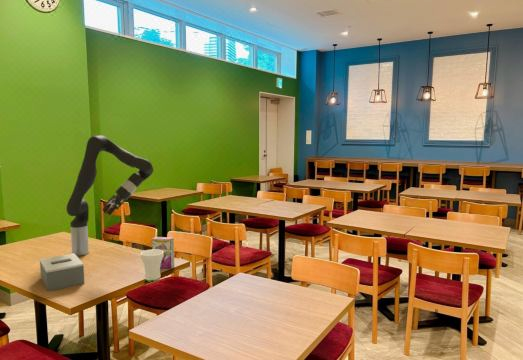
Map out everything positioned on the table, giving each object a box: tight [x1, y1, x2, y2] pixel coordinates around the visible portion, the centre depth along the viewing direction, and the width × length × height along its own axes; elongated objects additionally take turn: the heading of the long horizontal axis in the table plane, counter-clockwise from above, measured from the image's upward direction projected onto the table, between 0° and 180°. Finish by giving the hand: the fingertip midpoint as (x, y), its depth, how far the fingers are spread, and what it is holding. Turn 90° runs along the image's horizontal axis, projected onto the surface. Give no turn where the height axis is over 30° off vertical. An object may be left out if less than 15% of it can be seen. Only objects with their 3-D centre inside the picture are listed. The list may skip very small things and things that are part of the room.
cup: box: [140, 248, 164, 283], centre depth 193 cm, size 11×11×14 cm
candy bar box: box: [151, 236, 175, 269], centre depth 211 cm, size 11×5×16 cm, turn 84°
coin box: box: [39, 253, 85, 292], centre depth 191 cm, size 20×16×10 cm
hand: (105, 212), depth 207 cm, fingers open, 8 cm apart
